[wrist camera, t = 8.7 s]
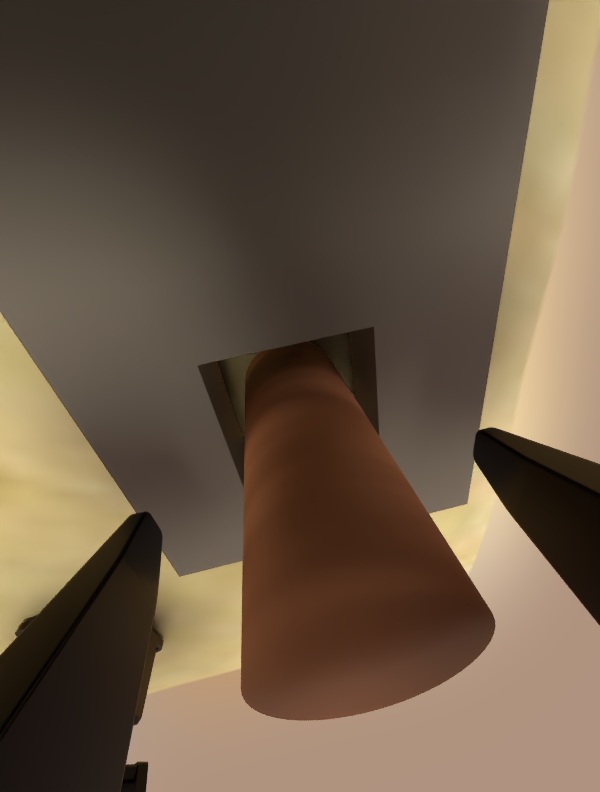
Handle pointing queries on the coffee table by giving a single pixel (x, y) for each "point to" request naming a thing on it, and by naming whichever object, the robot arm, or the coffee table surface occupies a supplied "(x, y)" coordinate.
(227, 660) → the coffee table surface
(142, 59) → the socket deck
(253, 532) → the peg
